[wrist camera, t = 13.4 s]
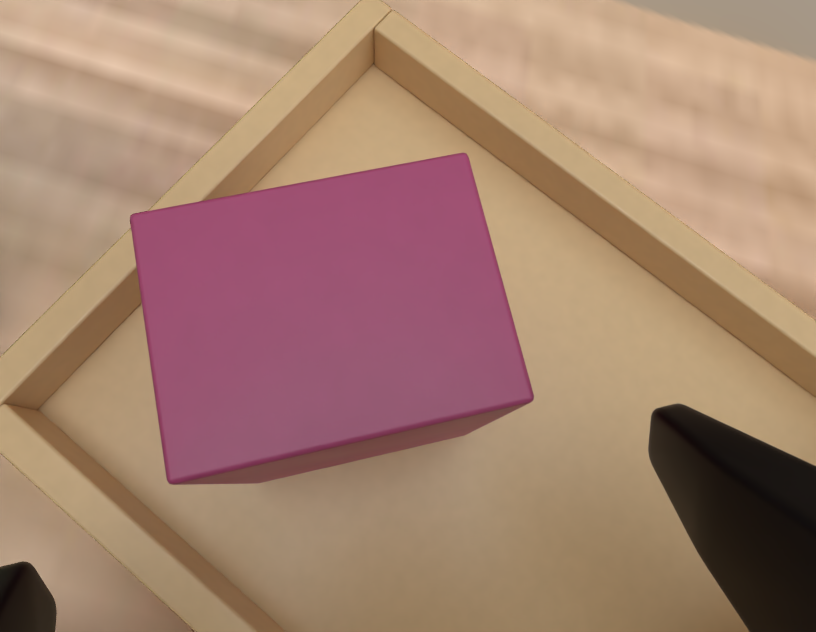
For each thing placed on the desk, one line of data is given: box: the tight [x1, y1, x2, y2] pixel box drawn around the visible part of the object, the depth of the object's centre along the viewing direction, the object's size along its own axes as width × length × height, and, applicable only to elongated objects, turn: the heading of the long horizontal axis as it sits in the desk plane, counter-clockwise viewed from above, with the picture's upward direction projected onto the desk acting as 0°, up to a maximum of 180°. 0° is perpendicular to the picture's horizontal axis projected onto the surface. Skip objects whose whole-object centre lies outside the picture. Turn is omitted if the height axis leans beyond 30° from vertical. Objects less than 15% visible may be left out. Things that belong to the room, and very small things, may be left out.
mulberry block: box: [130, 153, 534, 485], centre depth 13 cm, size 4×5×7 cm
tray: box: [0, 0, 816, 632], centre depth 16 cm, size 18×14×2 cm
